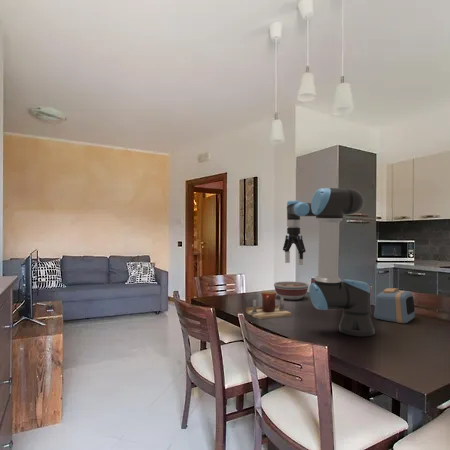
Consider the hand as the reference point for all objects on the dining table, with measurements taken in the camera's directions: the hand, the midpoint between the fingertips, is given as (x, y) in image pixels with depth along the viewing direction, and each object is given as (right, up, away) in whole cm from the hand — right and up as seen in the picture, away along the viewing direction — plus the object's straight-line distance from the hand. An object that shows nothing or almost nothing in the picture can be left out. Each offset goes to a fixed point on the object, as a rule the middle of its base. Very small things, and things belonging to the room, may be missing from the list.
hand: (293, 263), depth 201 cm
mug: (-16, -25, -11) cm, 32 cm away
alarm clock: (+48, -27, -21) cm, 59 cm away
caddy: (-16, -27, -11) cm, 33 cm away
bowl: (+5, -28, +34) cm, 44 cm away
